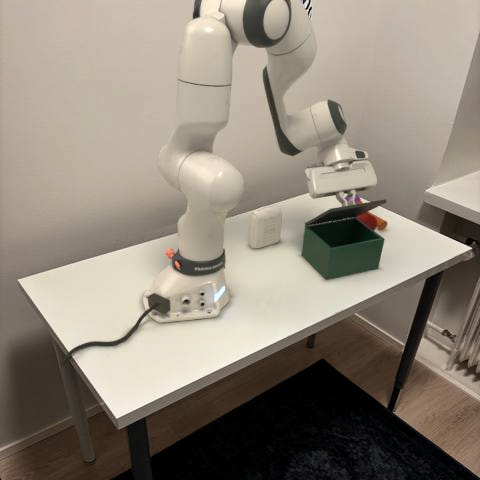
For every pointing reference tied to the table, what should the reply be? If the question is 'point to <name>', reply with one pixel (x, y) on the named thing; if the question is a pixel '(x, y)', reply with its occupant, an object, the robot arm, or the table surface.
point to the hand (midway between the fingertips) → (349, 208)
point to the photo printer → (265, 226)
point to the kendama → (380, 222)
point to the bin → (342, 248)
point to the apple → (368, 220)
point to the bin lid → (345, 212)
